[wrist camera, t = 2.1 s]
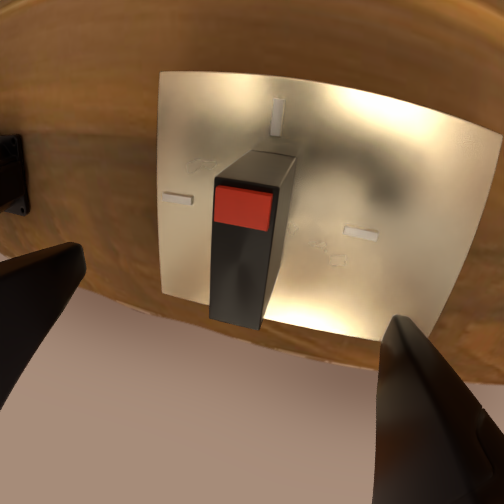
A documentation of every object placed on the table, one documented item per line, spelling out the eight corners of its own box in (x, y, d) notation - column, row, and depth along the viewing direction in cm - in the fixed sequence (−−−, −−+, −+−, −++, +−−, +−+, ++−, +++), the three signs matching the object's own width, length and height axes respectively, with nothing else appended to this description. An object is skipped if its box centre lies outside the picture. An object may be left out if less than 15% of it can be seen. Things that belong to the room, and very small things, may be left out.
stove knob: (279, 270, 14) (257, 335, 10) (239, 261, 14) (206, 323, 11) (296, 157, 12) (278, 190, 8) (249, 149, 12) (210, 179, 8)
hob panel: (184, 265, 19) (160, 295, 16) (189, 72, 14) (156, 71, 11) (414, 313, 17) (422, 350, 14) (475, 125, 11) (506, 136, 9)
